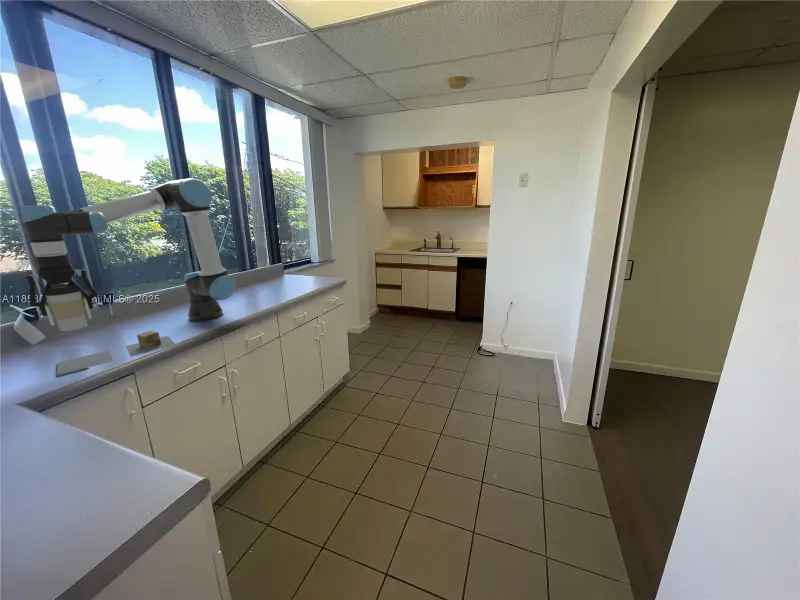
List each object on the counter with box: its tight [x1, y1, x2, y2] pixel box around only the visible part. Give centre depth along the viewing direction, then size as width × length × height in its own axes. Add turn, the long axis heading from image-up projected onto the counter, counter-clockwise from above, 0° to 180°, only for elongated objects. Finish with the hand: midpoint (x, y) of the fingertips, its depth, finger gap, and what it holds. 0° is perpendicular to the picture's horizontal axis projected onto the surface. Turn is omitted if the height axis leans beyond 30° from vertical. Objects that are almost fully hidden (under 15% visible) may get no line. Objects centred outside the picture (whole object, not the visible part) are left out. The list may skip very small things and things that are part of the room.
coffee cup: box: [44, 283, 88, 332], centre depth 110 cm, size 9×9×15 cm
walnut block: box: [136, 330, 161, 349], centre depth 128 cm, size 5×5×5 cm
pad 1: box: [56, 349, 114, 377], centre depth 116 cm, size 14×14×1 cm
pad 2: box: [125, 335, 176, 357], centre depth 128 cm, size 14×14×1 cm
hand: (72, 321), depth 111 cm, fingers closed on coffee cup, 8 cm apart
